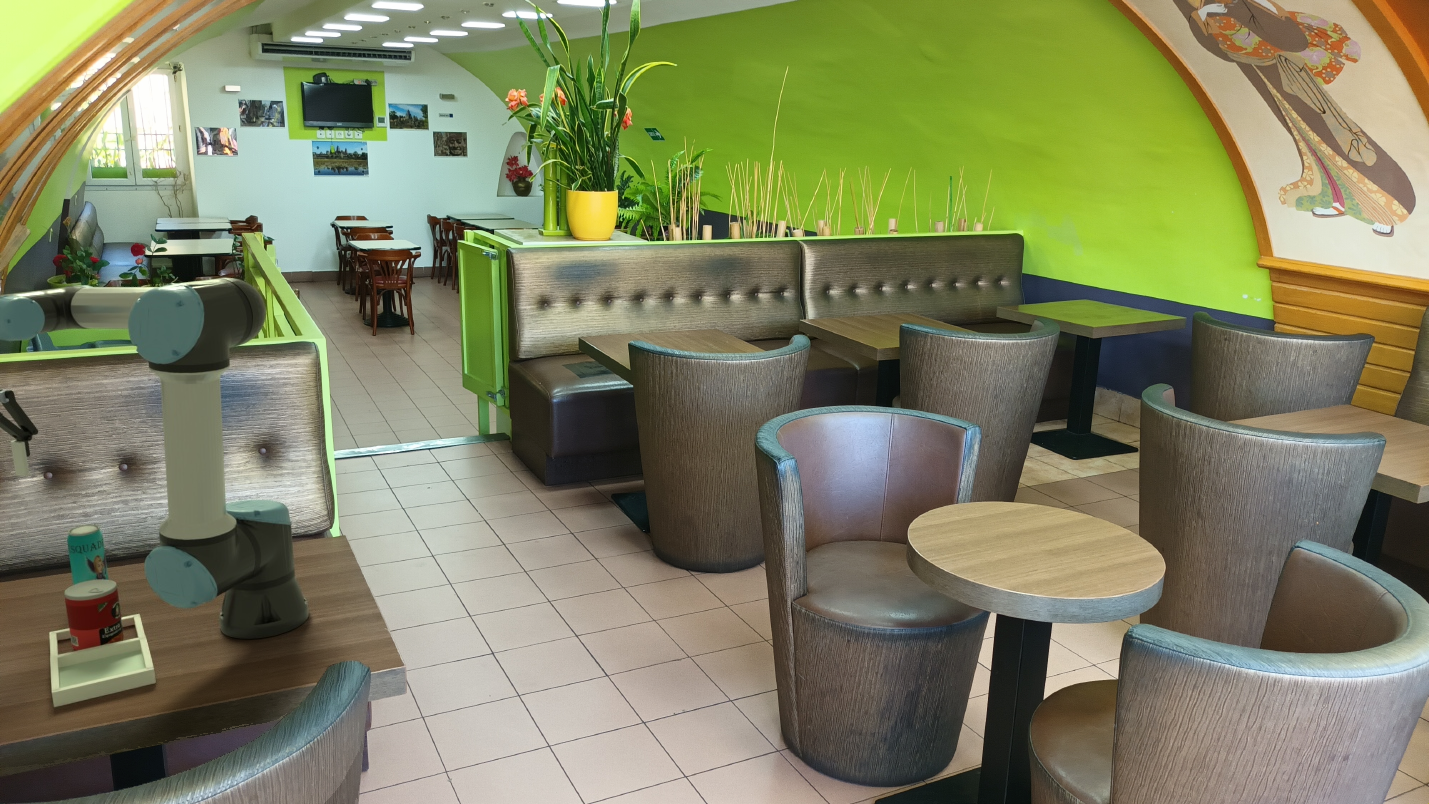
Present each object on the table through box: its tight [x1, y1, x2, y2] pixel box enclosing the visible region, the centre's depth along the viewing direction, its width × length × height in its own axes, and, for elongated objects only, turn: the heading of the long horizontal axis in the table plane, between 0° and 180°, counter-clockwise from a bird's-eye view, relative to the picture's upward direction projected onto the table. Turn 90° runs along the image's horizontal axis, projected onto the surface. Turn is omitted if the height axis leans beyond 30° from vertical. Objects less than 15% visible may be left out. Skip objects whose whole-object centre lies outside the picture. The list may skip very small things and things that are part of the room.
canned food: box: [64, 579, 125, 652], centre depth 174 cm, size 8×8×11 cm
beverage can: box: [66, 524, 110, 586], centre depth 191 cm, size 6×6×15 cm
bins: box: [49, 613, 157, 708], centre depth 170 cm, size 27×14×2 cm, turn 34°
